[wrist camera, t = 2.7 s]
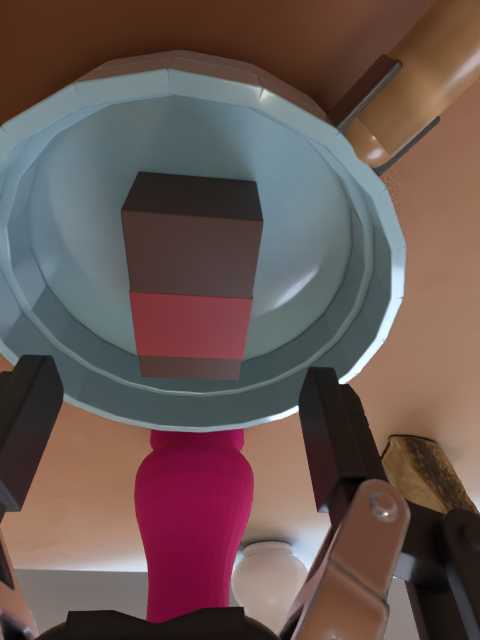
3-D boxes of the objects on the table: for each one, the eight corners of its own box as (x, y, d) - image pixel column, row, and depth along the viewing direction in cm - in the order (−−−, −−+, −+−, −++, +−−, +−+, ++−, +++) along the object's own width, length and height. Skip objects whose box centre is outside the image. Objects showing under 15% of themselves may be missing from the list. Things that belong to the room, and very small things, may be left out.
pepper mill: (254, 442, 28) (292, 957, 13) (162, 451, 28) (98, 960, 13) (243, 385, 23) (282, 1103, 8) (131, 397, 23) (-23, 1101, 9)
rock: (435, 524, 35) (530, 498, 28) (412, 614, 29) (525, 611, 22) (345, 444, 37) (412, 401, 30) (307, 514, 31) (379, 481, 24)
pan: (25, -74, 9) (-72, -106, 6) (450, 178, 14) (512, 230, 11) (0, 322, 19) (-44, 389, 16) (265, 393, 24) (272, 454, 20)
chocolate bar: (136, 170, 13) (117, 210, 11) (258, 181, 14) (265, 221, 11) (150, 328, 19) (139, 378, 16) (237, 332, 19) (240, 381, 17)
